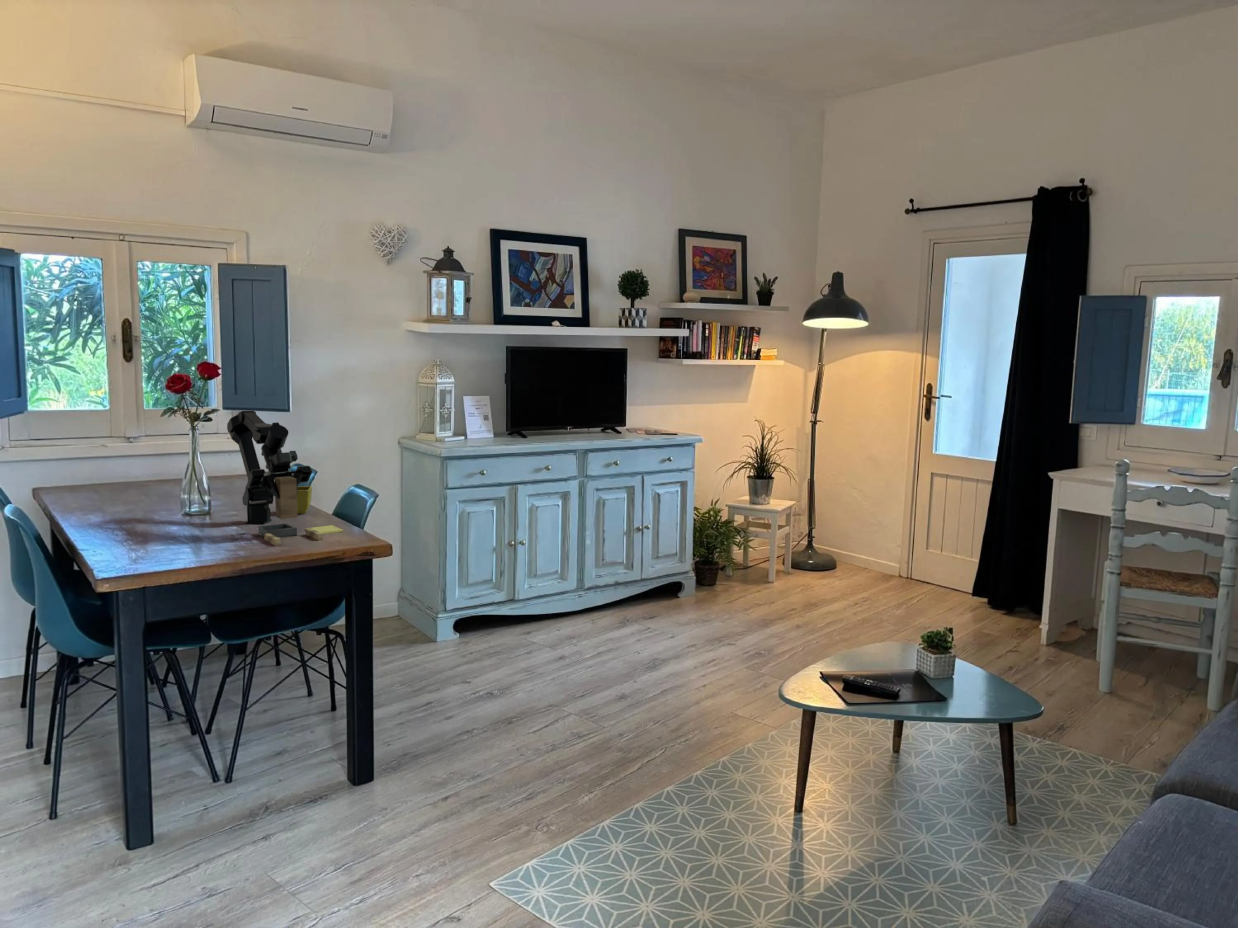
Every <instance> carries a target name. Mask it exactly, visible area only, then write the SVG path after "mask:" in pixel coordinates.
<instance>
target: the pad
mask: <svg viewBox="0 0 1238 928" xmlns="http://www.w3.org/2000/svg"><path fill="white" fill-rule="evenodd" d="M308 528H309V527H307V528H305V529H304V530H305V531H306V529H308ZM310 528H311V529H313V530H316V531H318V532H320V533H322V534H323V535H327V534H335V533H342V532H344V529H341V528H339V527H336V525H335V526H334V525H332V524H331V525H326V526H325V525H324V526H316V527H315V526H314V527H310Z"/></svg>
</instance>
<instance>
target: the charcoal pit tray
mask: <svg viewBox="0 0 1238 928" xmlns="http://www.w3.org/2000/svg"><path fill="white" fill-rule="evenodd" d="M257 527H258V535H260V534H261V535H262V536H261V535H260V536H261V537H263V536H264V534H266V533H270V534H272V535H274V536H276V537H281V538H288V537H296V536H298V528H297V526H294V525H292V524H290V523H288V522H284V523H277V524H274V523H273V524H267V525H259V526H257Z"/></svg>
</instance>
